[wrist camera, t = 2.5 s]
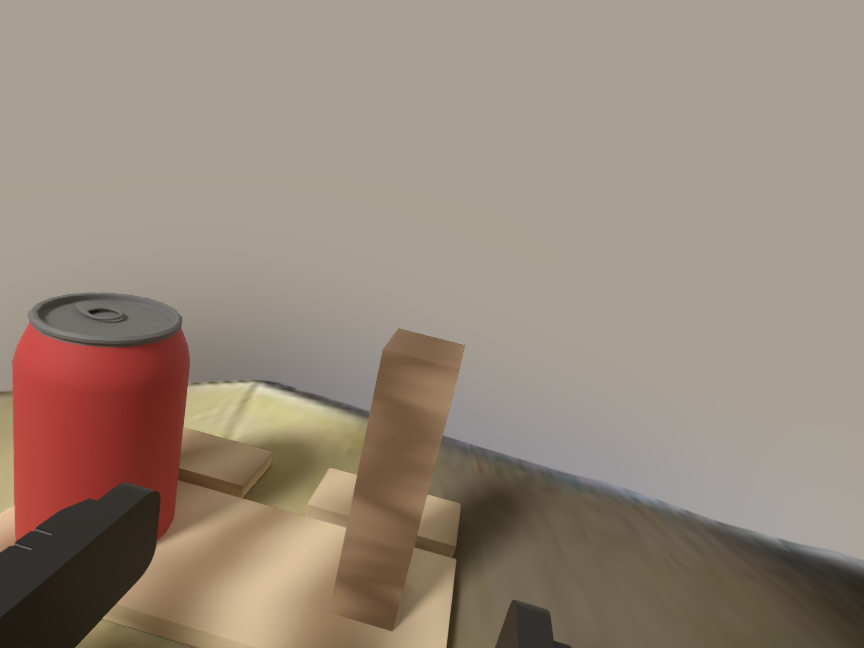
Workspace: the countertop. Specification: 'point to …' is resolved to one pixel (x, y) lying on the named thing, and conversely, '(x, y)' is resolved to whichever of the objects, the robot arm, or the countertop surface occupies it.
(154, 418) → the beer can
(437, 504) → the broken strip
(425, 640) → the wooden post stand
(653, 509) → the countertop surface
